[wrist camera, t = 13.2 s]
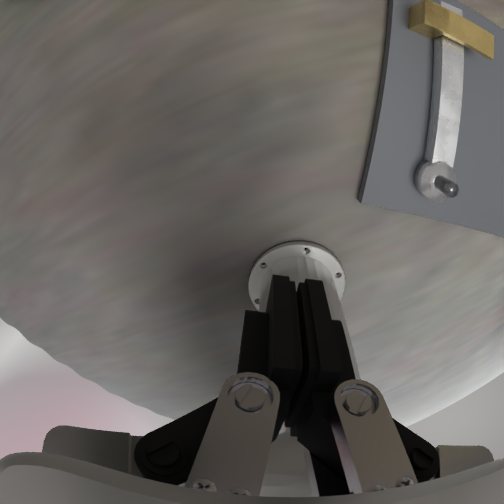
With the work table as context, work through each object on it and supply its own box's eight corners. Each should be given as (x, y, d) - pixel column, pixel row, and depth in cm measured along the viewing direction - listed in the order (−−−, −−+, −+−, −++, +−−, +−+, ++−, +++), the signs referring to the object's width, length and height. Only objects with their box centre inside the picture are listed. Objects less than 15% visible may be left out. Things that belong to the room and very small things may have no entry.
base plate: (522, 240, 34) (527, 244, 33) (357, 199, 34) (361, 203, 32) (555, 77, 20) (561, 78, 19) (390, -24, 20) (394, -28, 19)
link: (443, 199, 31) (464, 214, 26) (411, 194, 31) (430, 209, 27) (459, 15, 20) (482, 9, 15) (426, 1, 20) (446, -9, 15)
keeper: (473, 60, 22) (493, 59, 19) (408, 29, 22) (424, 22, 19) (474, 38, 21) (494, 35, 17) (409, 7, 21) (425, -2, 17)
